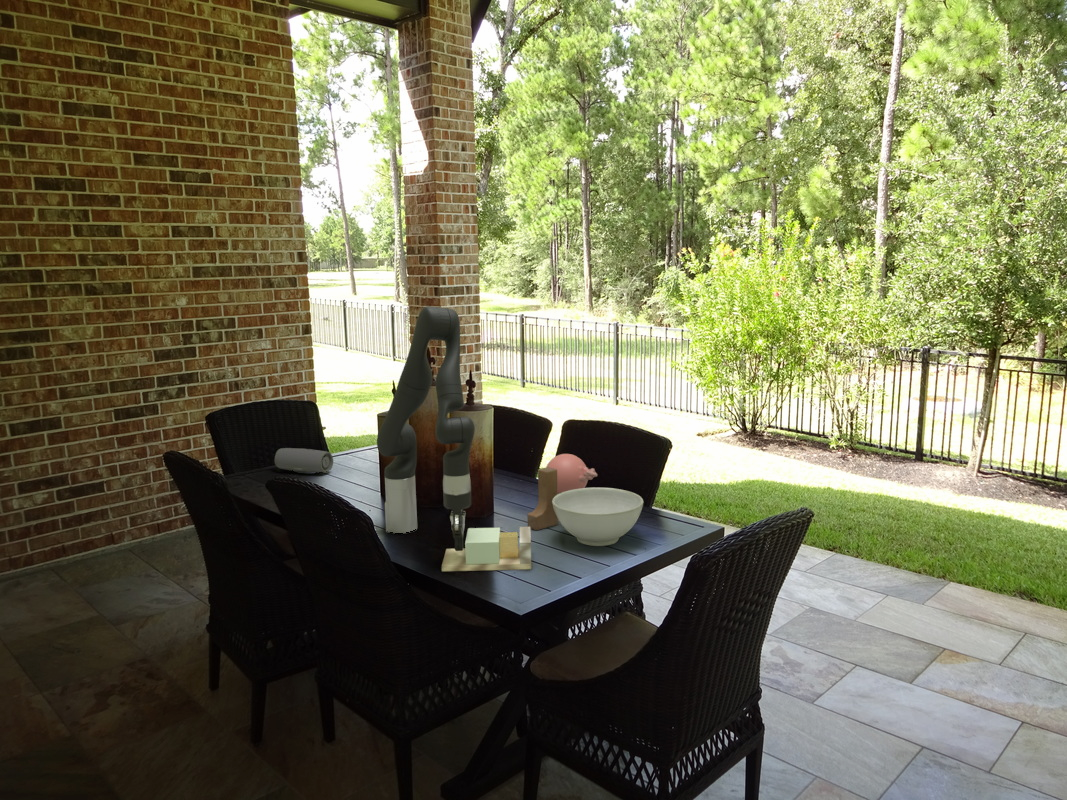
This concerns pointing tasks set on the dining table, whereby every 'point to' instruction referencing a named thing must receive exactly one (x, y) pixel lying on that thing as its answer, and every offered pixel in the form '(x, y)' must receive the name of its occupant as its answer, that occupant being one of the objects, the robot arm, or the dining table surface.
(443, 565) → the vise
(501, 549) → the brass block
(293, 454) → the bluetooth speaker
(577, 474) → the balloon
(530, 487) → the dining table surface
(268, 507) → the dining table surface
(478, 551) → the block
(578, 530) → the decorative bowl
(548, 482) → the wooden block
